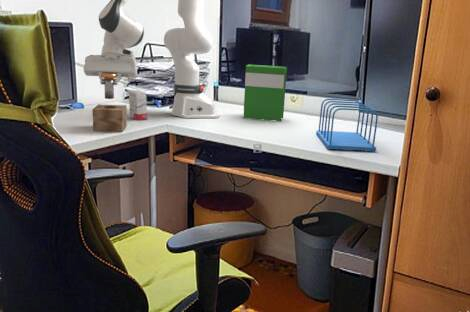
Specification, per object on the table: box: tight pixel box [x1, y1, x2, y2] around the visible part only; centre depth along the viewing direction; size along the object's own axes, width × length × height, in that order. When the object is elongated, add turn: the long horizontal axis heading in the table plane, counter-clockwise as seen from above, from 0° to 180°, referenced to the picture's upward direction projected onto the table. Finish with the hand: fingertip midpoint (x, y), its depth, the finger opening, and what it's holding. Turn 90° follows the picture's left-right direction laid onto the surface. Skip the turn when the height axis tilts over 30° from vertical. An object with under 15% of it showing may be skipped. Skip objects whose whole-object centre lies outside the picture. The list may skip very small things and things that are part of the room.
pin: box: [102, 73, 117, 100], centre depth 182 cm, size 5×5×9 cm
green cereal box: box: [242, 64, 288, 122], centre depth 218 cm, size 18×7×24 cm, turn 76°
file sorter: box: [315, 98, 379, 152], centre depth 179 cm, size 25×17×15 cm
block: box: [92, 104, 128, 133], centre depth 185 cm, size 11×11×8 cm
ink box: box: [128, 89, 148, 121], centre depth 206 cm, size 9×5×12 cm, turn 33°
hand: (108, 83), depth 181 cm, fingers closed on pin, 3 cm apart
